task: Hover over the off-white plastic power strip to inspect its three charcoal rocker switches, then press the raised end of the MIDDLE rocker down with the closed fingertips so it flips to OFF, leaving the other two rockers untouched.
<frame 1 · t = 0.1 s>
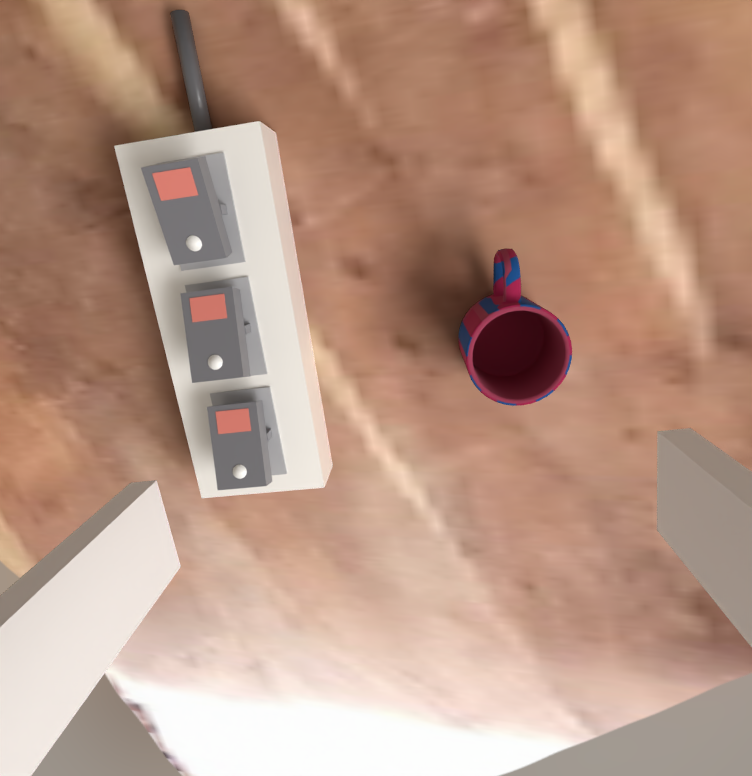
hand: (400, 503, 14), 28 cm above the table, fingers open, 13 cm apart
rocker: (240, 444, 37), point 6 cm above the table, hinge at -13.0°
strip: (245, 321, 41), on the table
mug: (502, 314, 40), on the table
rocker mid: (216, 335, 35), point 6 cm above the table, hinge at -13.0°
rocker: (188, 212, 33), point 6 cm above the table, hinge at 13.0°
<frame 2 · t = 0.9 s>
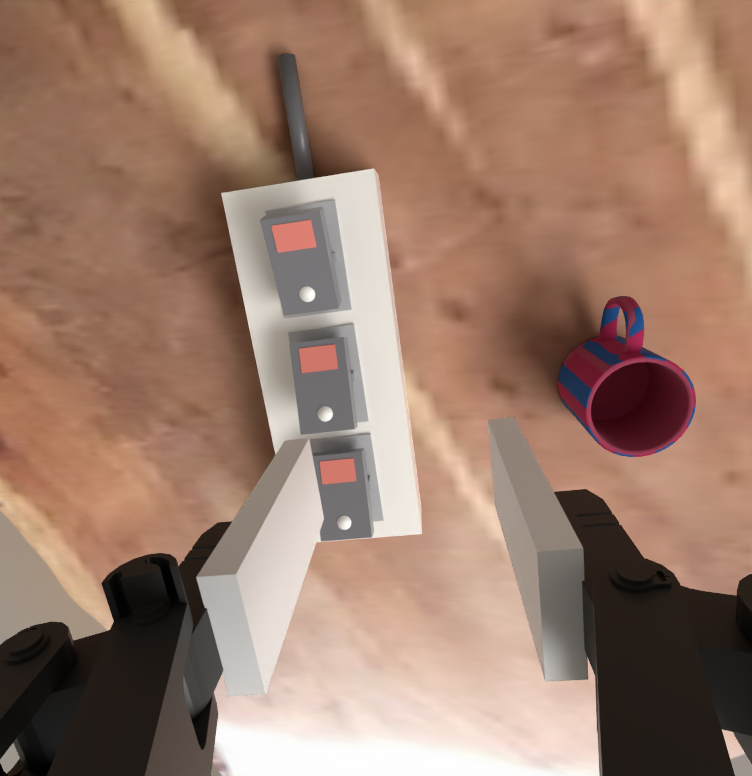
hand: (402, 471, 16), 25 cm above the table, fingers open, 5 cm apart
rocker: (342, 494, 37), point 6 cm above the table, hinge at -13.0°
strip: (337, 363, 40), on the table
mug: (604, 357, 39), on the table
rocker mid: (323, 385, 35), point 6 cm above the table, hinge at -13.0°
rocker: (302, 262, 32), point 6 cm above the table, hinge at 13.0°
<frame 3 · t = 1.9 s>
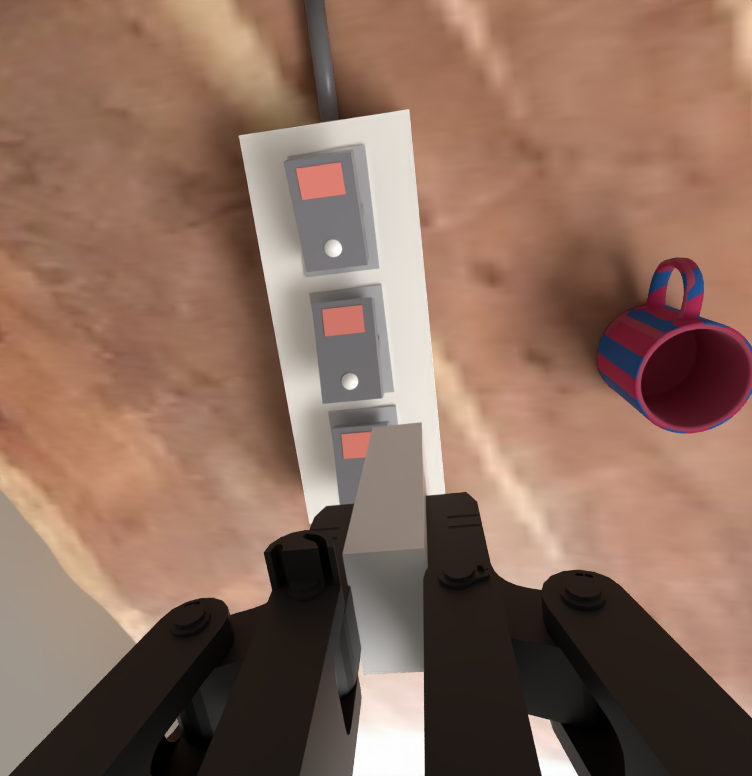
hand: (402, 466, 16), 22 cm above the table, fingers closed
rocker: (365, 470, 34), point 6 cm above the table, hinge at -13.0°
strip: (359, 330, 38), on the table
mug: (648, 328, 36), on the table
rocker mid: (348, 351, 32), point 6 cm above the table, hinge at -13.0°
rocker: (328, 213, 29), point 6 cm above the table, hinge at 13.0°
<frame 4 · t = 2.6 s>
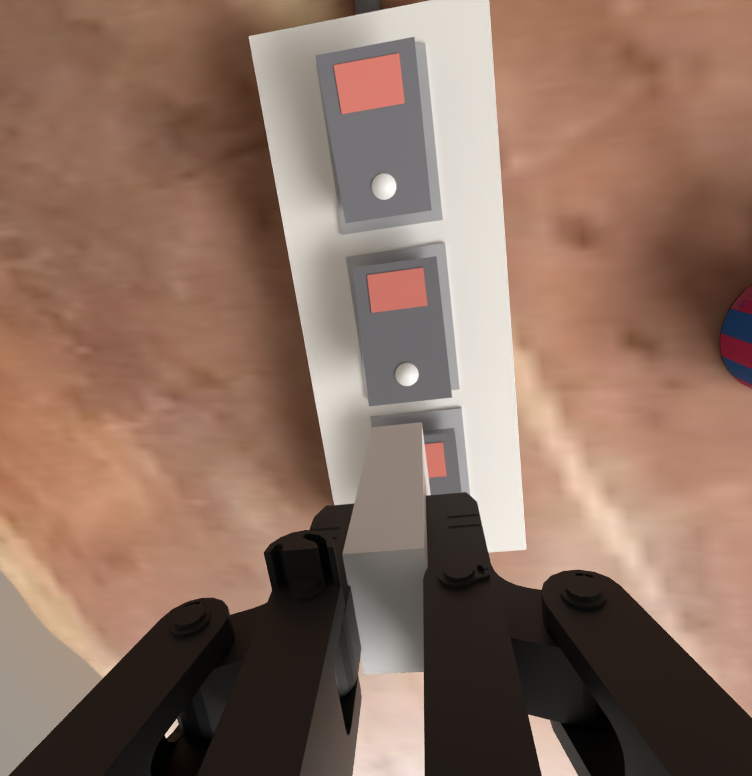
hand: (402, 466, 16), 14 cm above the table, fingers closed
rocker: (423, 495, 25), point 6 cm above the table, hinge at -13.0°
strip: (406, 311, 29), on the table
rocker mid: (403, 333, 23), point 6 cm above the table, hinge at -13.0°
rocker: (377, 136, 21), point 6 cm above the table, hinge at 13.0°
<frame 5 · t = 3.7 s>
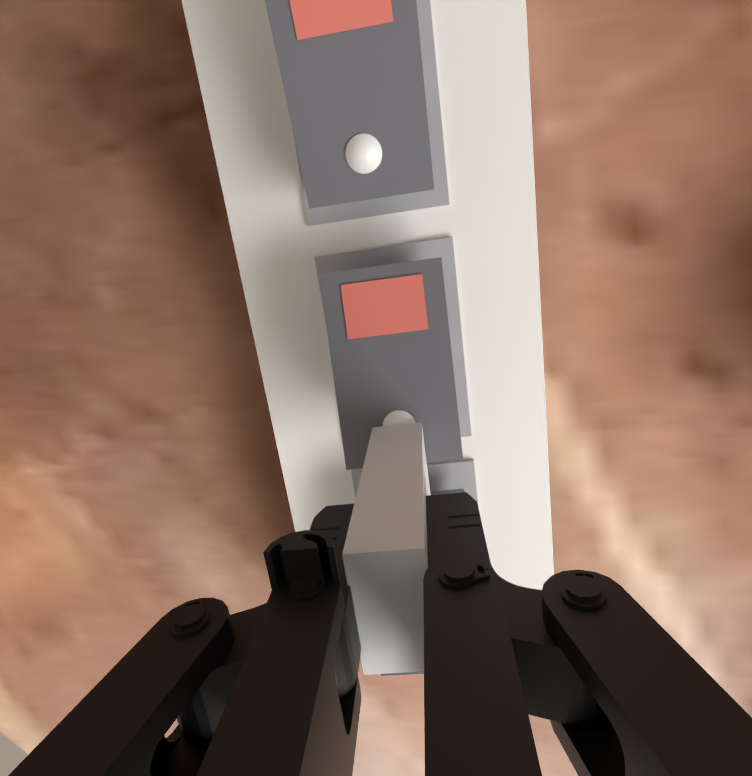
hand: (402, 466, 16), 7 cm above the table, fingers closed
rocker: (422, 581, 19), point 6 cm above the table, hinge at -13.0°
strip: (400, 327, 22), on the table
rocker mid: (393, 365, 16), point 6 cm above the table, hinge at -9.4°, touching gripper
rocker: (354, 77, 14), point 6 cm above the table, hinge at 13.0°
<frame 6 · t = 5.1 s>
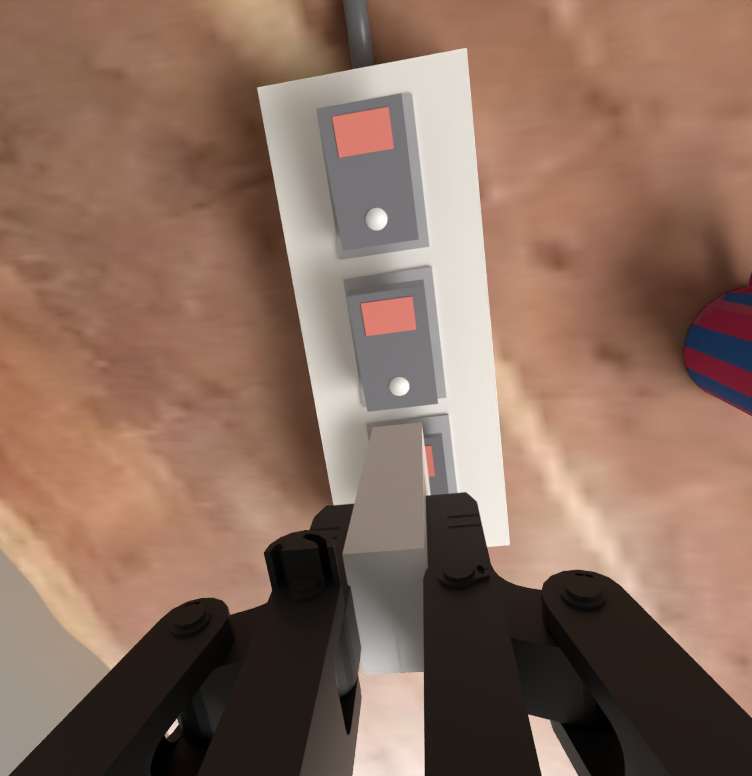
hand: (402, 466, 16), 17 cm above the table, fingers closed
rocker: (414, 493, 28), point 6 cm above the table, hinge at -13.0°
strip: (398, 327, 32), on the table
mug: (745, 315, 30), on the table
rocker mid: (394, 347, 26), point 6 cm above the table, hinge at 8.1°
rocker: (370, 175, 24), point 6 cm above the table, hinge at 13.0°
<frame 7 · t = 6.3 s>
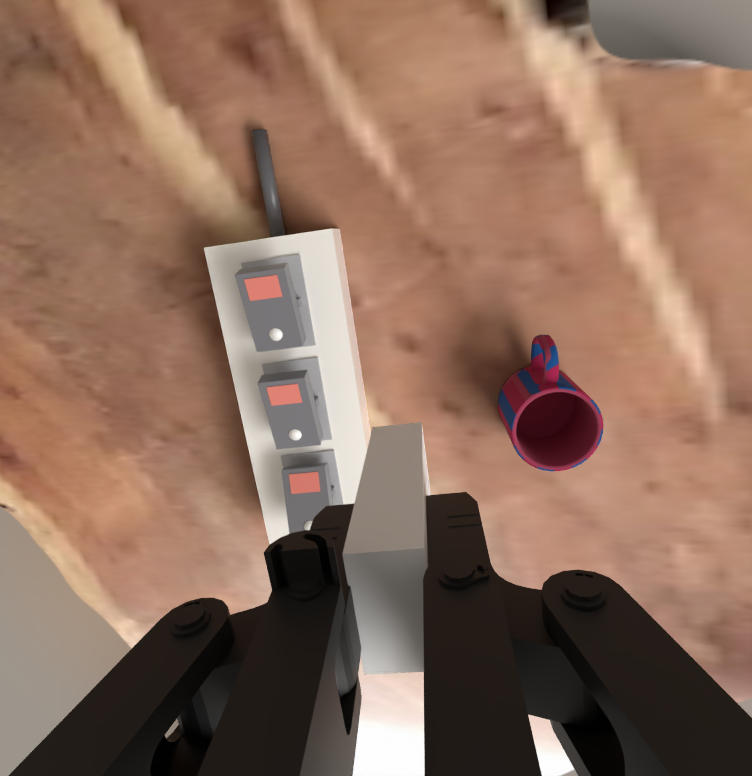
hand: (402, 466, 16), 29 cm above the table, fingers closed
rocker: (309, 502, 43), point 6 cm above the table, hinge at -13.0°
strip: (307, 388, 47), on the table
mug: (537, 383, 45), on the table
rocker mid: (291, 410, 41), point 6 cm above the table, hinge at 11.9°
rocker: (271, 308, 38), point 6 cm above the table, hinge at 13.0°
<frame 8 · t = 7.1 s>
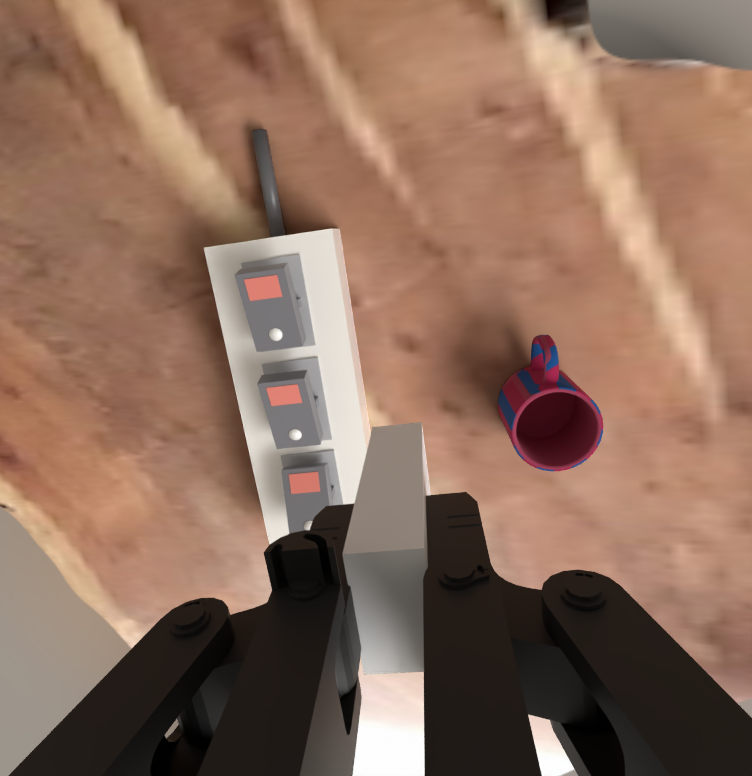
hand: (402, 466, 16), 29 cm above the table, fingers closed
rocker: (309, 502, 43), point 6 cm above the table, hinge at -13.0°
strip: (307, 388, 47), on the table
mug: (537, 383, 45), on the table
rocker mid: (291, 410, 41), point 6 cm above the table, hinge at 13.0°
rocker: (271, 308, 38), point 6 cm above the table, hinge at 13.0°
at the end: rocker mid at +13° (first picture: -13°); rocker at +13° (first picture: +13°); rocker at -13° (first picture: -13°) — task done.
